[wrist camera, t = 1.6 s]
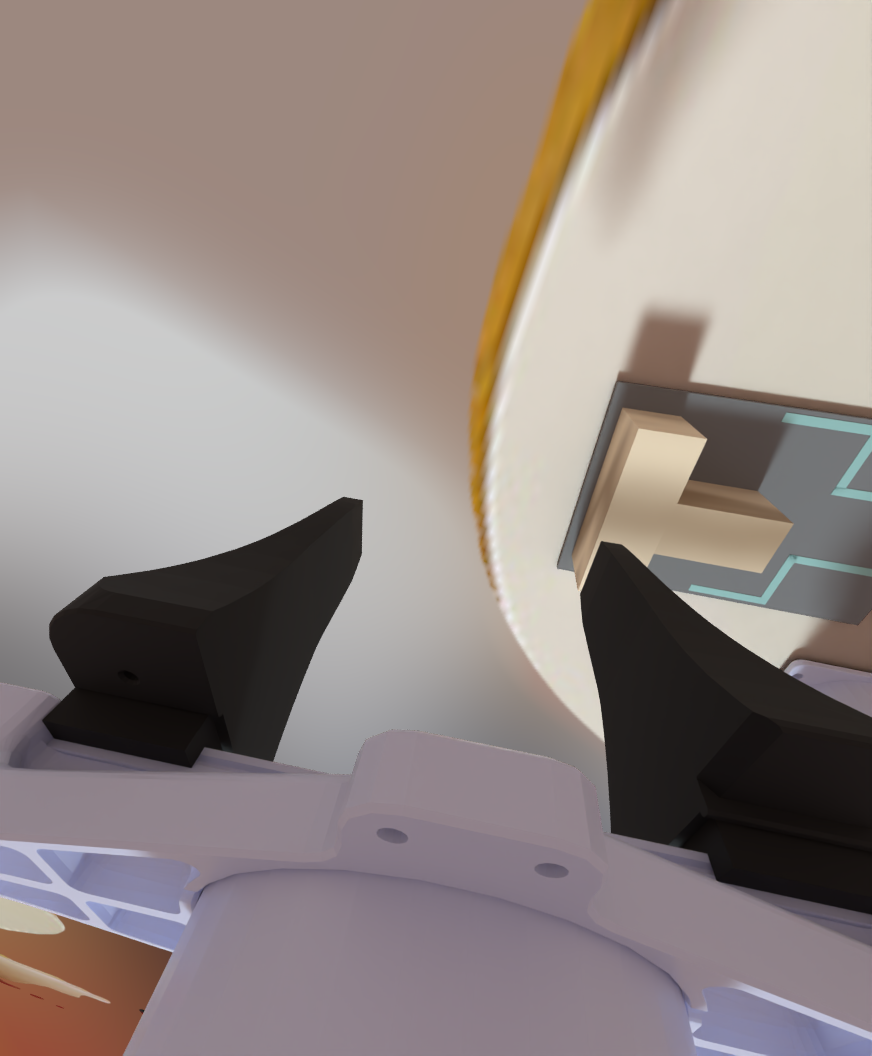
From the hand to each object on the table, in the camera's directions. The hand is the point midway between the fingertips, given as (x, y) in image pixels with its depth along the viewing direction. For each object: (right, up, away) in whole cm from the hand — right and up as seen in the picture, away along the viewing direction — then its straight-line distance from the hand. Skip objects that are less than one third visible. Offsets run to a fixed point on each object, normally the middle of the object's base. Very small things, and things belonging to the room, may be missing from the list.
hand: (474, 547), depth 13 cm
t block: (+10, +2, +7) cm, 13 cm away
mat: (+14, +1, +7) cm, 16 cm away
